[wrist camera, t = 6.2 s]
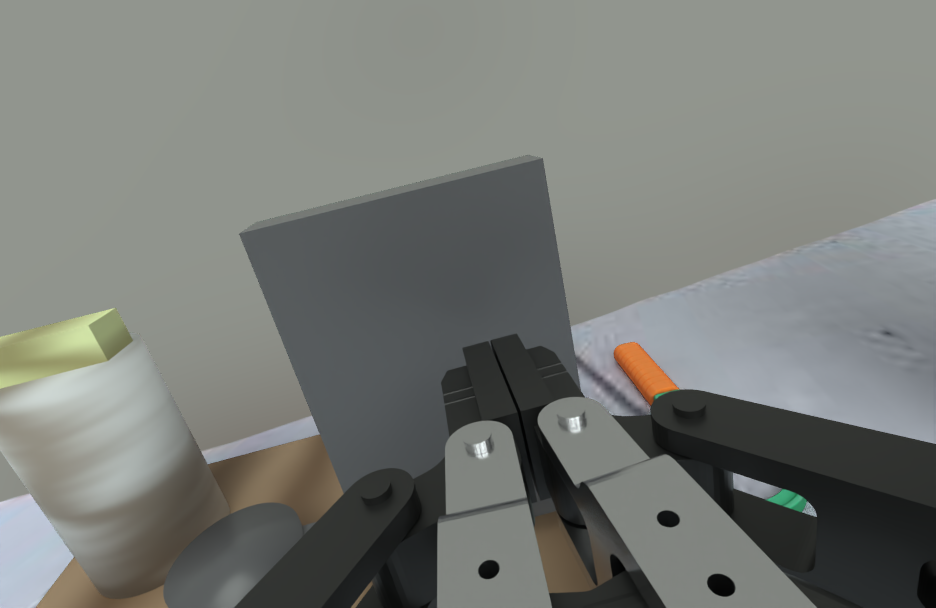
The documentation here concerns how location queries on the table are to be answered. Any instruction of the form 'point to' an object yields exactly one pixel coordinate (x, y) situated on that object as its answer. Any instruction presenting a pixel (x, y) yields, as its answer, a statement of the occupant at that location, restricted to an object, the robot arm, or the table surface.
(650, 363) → the magnifying glass
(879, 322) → the table surface
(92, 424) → the base
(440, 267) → the grey panel with handle
